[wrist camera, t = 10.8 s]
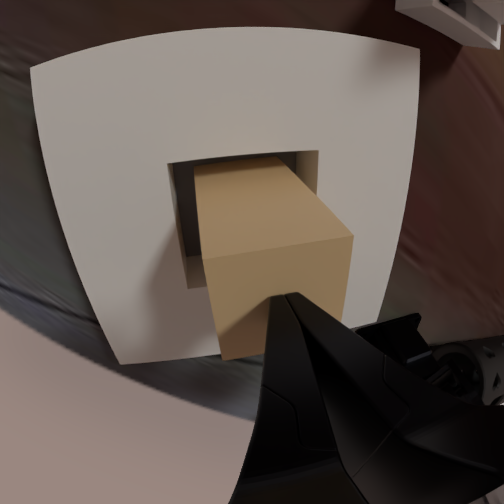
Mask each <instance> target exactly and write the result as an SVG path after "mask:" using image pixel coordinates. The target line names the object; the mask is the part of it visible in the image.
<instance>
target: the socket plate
mask: <svg viewBox="0 0 504 504" xmlns="http://www.w3.org/2000/svg"><path fill="white" fill-rule="evenodd" d="M30 73H31V84H32V93H33V101H34V108H35V115H36V121H37V127H38V133H39V138H40V143H41V148H42V153H43V158H44V162H45V167H46V171H47V175H48V179H49V183H50V187H51V191H52V194H53V198H54V202H55V205H56V209H57V212H58V215H59V219H60V222H61V225H62V228H63V231H64V234H65V237H66V240H67V243H68V246H69V249H70V252H71V255H72V258H73V260H74V263H75V266H76V268H77V271H78V274H79V276H80V279H81V281H82V284H83V286H84V289H85V291H86V293H87V296H88V298H89V301H90V303H91V305H92V307H93V310H94V312H95V314H96V316H97V319H98V321H99V323H100V325H101V327H102V329H103V331H104V334H105V336H106V338H107V340H108V342H109V344H110V346H111V348H112V350H113V352H114V354H115V356H116V358H117V359H118V361H119V363H120V365H122V364H135V363H147V362H157V361H167V360H176V359H184V358H193V357H200V356H208V355H215V354H221V351H220V347H219V342H218V337H217V332H216V328H215V323H214V318H213V313H212V308H211V303H210V298H209V292H208V287H207V282H206V276H205V271H204V265H203V260H202V251H201V242H200V233H199V223H198V213H197V202H196V191H195V179H194V167H193V166H199V165H206V164H213V163H220V162H228V161H236V160H244V159H253V158H262V157H272V156H277V157H278V158H279V159H280V160H281V161H282V162H283V163H284V164H285V165H286V166H287V167H288V168H289V169H290V170H291V171H292V172H293V173H294V174H295V175H296V176H297V177H298V178H299V179H300V180H301V181H302V182H303V183H304V184H305V185H306V186H307V187H308V188H309V189H310V190H311V191H312V192H313V193H314V194H315V195H316V196H317V197H318V198H319V199H320V200H321V201H322V202H323V203H324V204H325V205H326V206H327V207H328V208H329V209H330V210H331V211H332V212H333V213H334V214H335V215H336V217H337V218H338V219H339V220H340V221H341V222H342V223H343V224H344V225H345V226H346V227H347V228H348V229H349V231H350V232H351V233H352V234H353V235H354V239H353V247H352V255H351V262H350V270H349V277H348V283H347V290H346V296H345V302H344V308H343V314H342V319H341V323H342V324H344V325H345V326H347V327H348V328H349V329H350V328H354V327H358V326H362V325H366V324H370V323H374V322H376V321H377V318H378V315H379V311H380V308H381V305H382V301H383V298H384V294H385V291H386V287H387V283H388V280H389V276H390V272H391V268H392V264H393V260H394V256H395V251H396V247H397V243H398V238H399V234H400V229H401V224H402V219H403V214H404V209H405V203H406V198H407V192H408V186H409V180H410V173H411V166H412V159H413V151H414V143H415V133H416V123H417V111H418V96H419V74H420V49H418V48H414V47H410V46H406V45H402V44H398V43H393V42H389V41H384V40H379V39H374V38H369V37H364V36H358V35H351V34H345V33H337V32H329V31H320V30H310V29H297V28H278V27H229V28H210V29H197V30H187V31H178V32H170V33H163V34H156V35H150V36H144V37H138V38H133V39H128V40H123V41H118V42H114V43H109V44H105V45H101V46H97V47H93V48H89V49H86V50H82V51H79V52H75V53H72V54H69V55H65V56H62V57H59V58H56V59H53V60H50V61H47V62H45V63H42V64H39V65H36V66H34V67H31V68H30Z"/></svg>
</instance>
